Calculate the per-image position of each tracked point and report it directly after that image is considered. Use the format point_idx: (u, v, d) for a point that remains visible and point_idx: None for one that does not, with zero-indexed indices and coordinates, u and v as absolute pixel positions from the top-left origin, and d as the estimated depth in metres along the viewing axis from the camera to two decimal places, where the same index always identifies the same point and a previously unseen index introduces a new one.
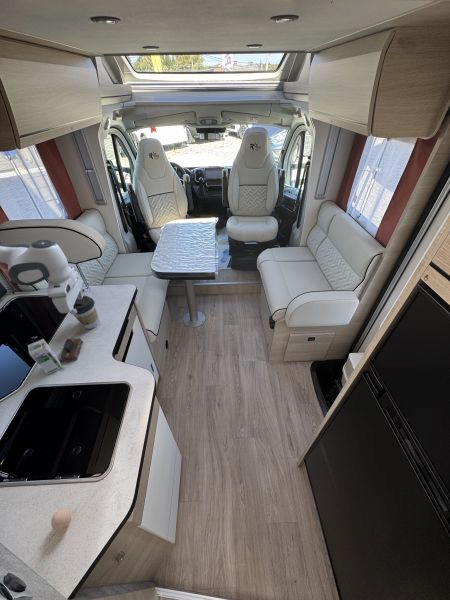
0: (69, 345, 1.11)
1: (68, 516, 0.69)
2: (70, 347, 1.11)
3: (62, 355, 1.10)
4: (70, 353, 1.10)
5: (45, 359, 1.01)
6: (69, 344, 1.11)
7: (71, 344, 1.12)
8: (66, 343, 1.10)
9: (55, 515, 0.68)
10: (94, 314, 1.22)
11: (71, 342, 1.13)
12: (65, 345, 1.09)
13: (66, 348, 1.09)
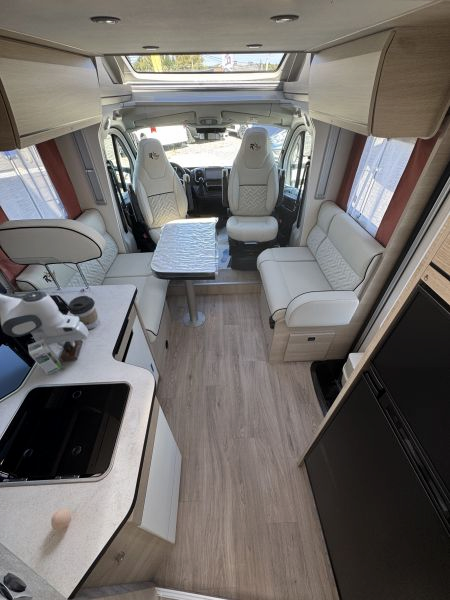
0: None
1: (68, 516, 0.69)
2: (70, 347, 1.11)
3: (62, 355, 1.10)
4: (70, 353, 1.10)
5: (45, 359, 1.01)
6: None
7: None
8: (66, 343, 1.10)
9: (55, 515, 0.68)
10: (94, 314, 1.22)
11: None
12: (65, 345, 1.09)
13: (66, 348, 1.09)
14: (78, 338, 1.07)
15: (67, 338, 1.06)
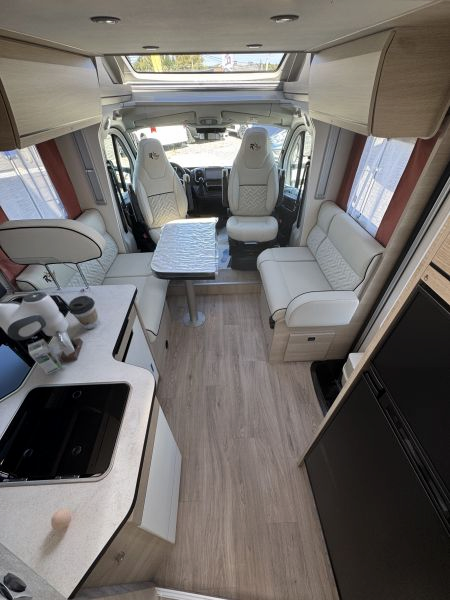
0: None
1: (68, 516, 0.69)
2: None
3: (62, 355, 1.10)
4: None
5: (45, 359, 1.01)
6: None
7: None
8: None
9: (55, 515, 0.68)
10: (94, 314, 1.22)
11: None
12: (70, 340, 1.11)
13: (73, 340, 1.12)
14: None
15: None
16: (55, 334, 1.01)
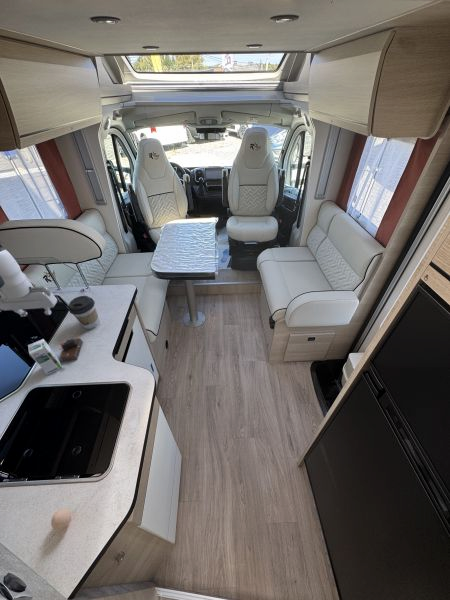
0: None
1: (68, 516, 0.69)
2: None
3: (62, 355, 1.10)
4: (70, 353, 1.10)
5: (45, 359, 1.01)
6: None
7: None
8: (68, 342, 1.11)
9: (55, 515, 0.68)
10: (94, 314, 1.22)
11: None
12: (70, 340, 1.11)
13: (73, 340, 1.12)
14: None
15: None
16: (28, 291, 0.92)
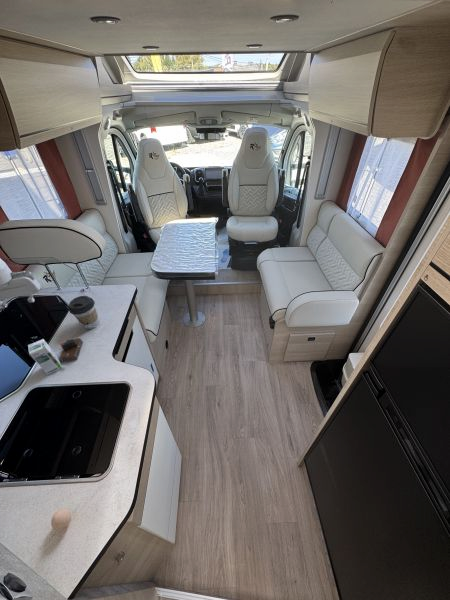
0: None
1: (68, 516, 0.69)
2: None
3: (62, 355, 1.10)
4: (70, 353, 1.10)
5: (45, 359, 1.01)
6: None
7: None
8: (68, 342, 1.11)
9: (55, 515, 0.68)
10: (94, 314, 1.22)
11: None
12: (70, 340, 1.11)
13: (73, 340, 1.12)
14: None
15: None
16: (10, 277, 0.90)
